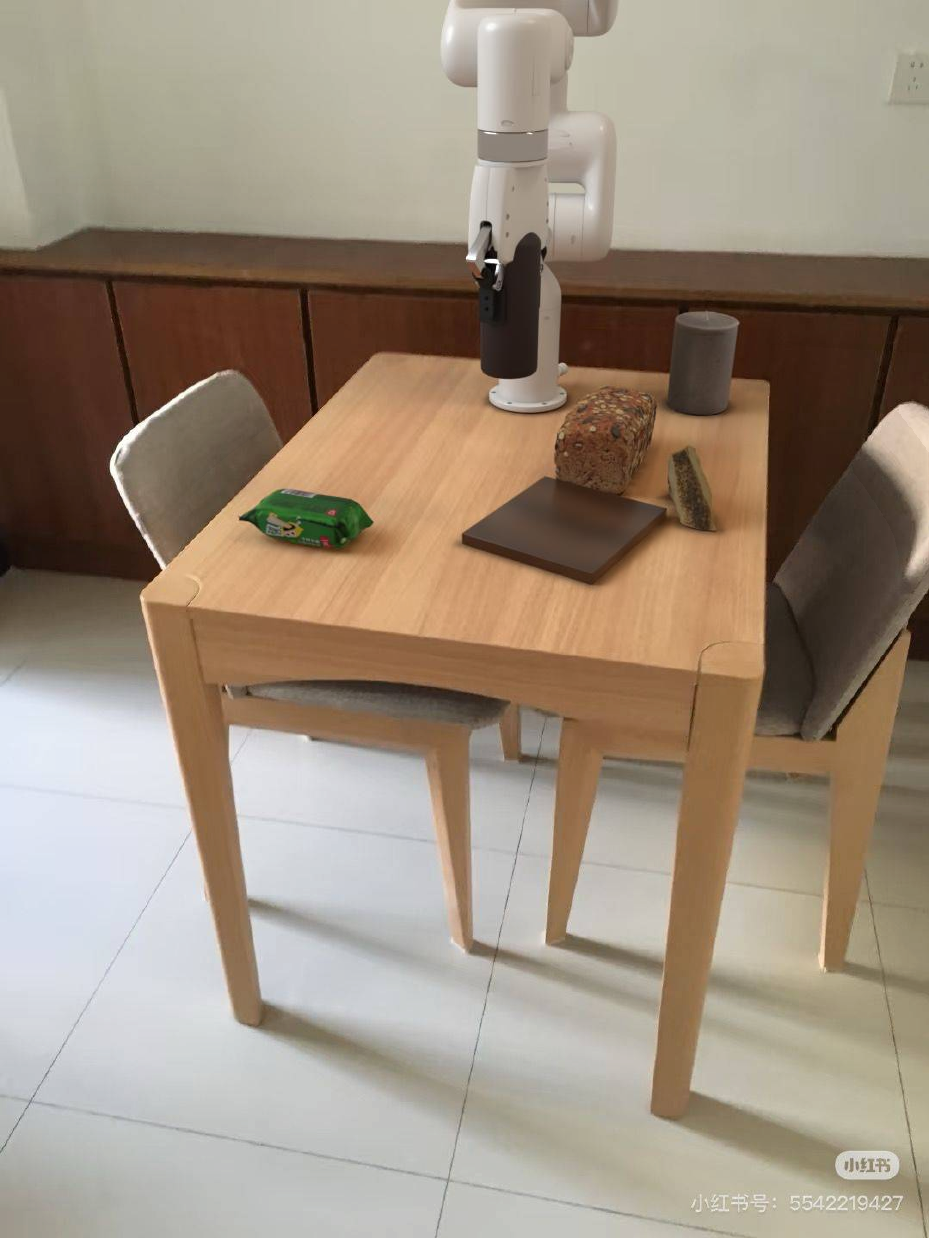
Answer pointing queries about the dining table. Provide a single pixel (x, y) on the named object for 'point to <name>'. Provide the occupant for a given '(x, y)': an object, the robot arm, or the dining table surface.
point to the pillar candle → (702, 362)
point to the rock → (690, 489)
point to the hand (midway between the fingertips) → (509, 314)
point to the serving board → (565, 528)
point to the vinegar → (515, 316)
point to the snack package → (309, 518)
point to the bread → (605, 439)
